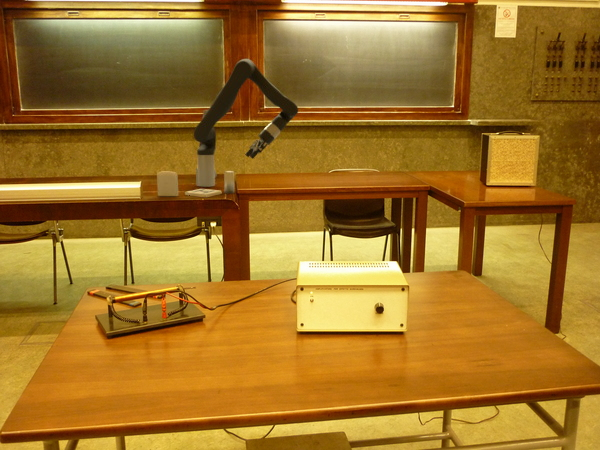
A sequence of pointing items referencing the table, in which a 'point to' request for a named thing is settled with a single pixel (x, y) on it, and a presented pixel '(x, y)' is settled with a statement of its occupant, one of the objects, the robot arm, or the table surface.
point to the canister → (229, 182)
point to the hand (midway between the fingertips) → (248, 156)
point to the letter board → (203, 192)
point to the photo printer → (167, 183)
